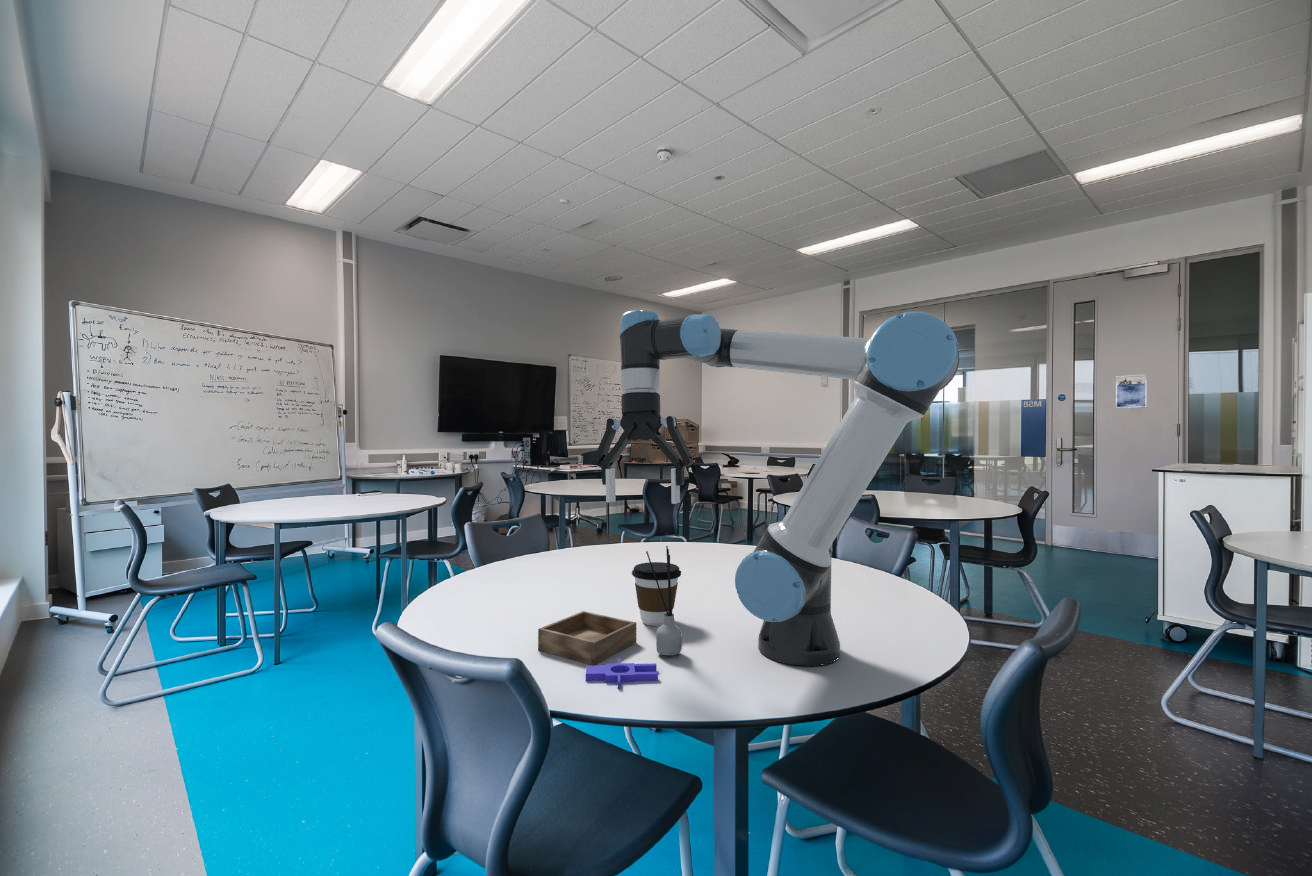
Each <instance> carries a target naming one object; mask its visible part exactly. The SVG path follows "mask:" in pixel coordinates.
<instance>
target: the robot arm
mask: <svg viewBox="0 0 1312 876" xmlns="http://www.w3.org/2000/svg"><path fill="white" fill-rule="evenodd" d="M619 332H620V333H619V340H620V360H621V361H620V363H621V365H620V390H621V391H622V392H623V393H622V395H621V397H620V398H621V405H620V406H621V418H620V419H617V418H610V417H608V418H607V420H606V427H605V431H604V433H603V436H602V437H601V441H600V443H599V445H598V447H597V450H596V452H595V455H594V457H593V459H592V461H591V462H592V465H593V466H597V467H599V468H600V469H601V482H602V483H601V484H602V485H603V486H605V502H606V503H613V502H616V498H617V497H616V468H613V465H614V464H615V462H616V461H617V459H618V458H619V457H620V455H621V454H622V453H623V451H624V450H625V449H626V447H627V446H628V445H629V444H630V443H631V442H632V441H634V442H636V441H652V442H654V443H655V444H656V445H657V447H658V448H659V449H660V451H661V452H662V453H663V454H664V456H665V457H666V458H667V459H668V460H669V462H671V464H672V465H673V466H674V468H670V485H671V486H670V489H671V492H670V493H671V495H670V496H671V498H670V500H671V504H672V505H676V504H679V503H681V486H684V484H685V468H686V467H687V466H690V465H693V464H694V462H695V459H694V458H693V456H692V454H691V452H690V450H689V448H688V446H687V444H686V442H685V440H684V438H683V436H682V434H681V432H680V430H679V427H678V421H677V417H676V416H671V415H668V416H667V417H662V416H661V395H660V393H658V391H660V390H661V381H660V379H661V378H660V374H661V373H660V361H665V360H673V359H675V360H676V359H687V360H691V361H693V362H697V363H702V364H706V365H708V366H709V367H713V368H739V369H746V370H747V369H749V370H757V371H758V370H759V371H765V372H766V371H767V372H777V373H787V374H794V375H795V374H797V375H804V376H805V375H806V376H815V377H816V376H818V377H827V378H836V379H845V380H852V384H853V387H854V391H855V397H854V399H852V402H851V404H850V405H849V407H848V408H847V410H846V412H845V414H844V415H843V417H842V419H841V421H840V422H839V424H838V426H837V428H835V431H834V433H833V434H832V436H831V437H830V439H829V440H828V443H827V444H826V447H824V449H823V452H822V453H821V455H820V456H819V458H818V460H817V461H816V463H815V464H814V466H813V468H812V470H811V472H810V474H809V475H808V476H807V478H806V480H805V482H804V484H803V485H802V487H801V488H800V490H799V492H798V493H797V495H796V497H795V498H794V501H793V502H792V504H791V505H790V507H789V509H788V510H787V511H786V514H785V515H784V517H783V519H782V520H781V521H777V522H774V523H770V524H768V526H767V527H766V530H765V531H764V533H763V535H762V537H761V538H760V540H759V541H758V543H757V545H756V547H755V549H754V550H753V551H752V552H751V553H749V554H747V555H746V556H745V557H744V558H743V559H742V560H741V562H740V563H739V565H738V566H737V569H736V571H735V576H734V586H735V590H736V594H737V597H738V599H739V600H740V603H741V604H742V605H743V607H744V609H746V610H747V611H748V612H749V613H750V614H751V615H753V616H754V617H755V618H758V619H759V620H762V624H761V628H760V630H759V634H758V637H757V638H758V640H757V641H758V646H757V648H758V649H757V650H759V652H760V654H762V655H763V656H765V657H766V658H768V659H771V660H773V661H776V662H779V663H782V664H786V665H792V666H799V665H820V666H822V665H821V664H827V663H830V662H833V661H834V660H836V659H837V658H839V656H840V657H841V641H840V638H839V635H838V632H837V629H836V625H835V623H834V620H833V616H832V611H831V609H832V608H831V607H832V606H831V605H832V553H833V547H832V544H833V543H834V541H835V539H836V538H837V536H838V535H839V533H840V531H841V530H842V528H843V527H844V525H845V523H846V522H847V520H848V519H849V517H850V516H851V514H852V512H853V511H854V509H855V507H856V506H857V504H858V503H859V501H860V500H861V498H862V496H863V495H864V493H865V491H866V490H867V488H868V486H869V485H870V483H871V482H872V480H873V478H874V477H875V475H876V474H877V472H878V470H879V468H880V467H881V465H882V464H883V462H884V460H885V459H886V457H887V456H888V454H889V453H890V451H891V450H892V448H893V446H894V445H895V443H896V441H897V439H898V438H899V437H900V435H901V433H902V432H903V430H904V429H905V427H906V425H907V424H908V423H909V422H911V421H915V420H919V419H921V418H924V416H925V415H926V413H927V411H928V410H929V408H930V406H931V405H932V403H933V402H934V400H935V398H937V396H938V395H939V393H940V391H942V390H943V389H944V388H946V387H947V386H948V385H949V384H950V383H951V381H953V379H954V378H955V376H956V375H957V372H958V369H959V365H960V352H959V342H958V339H957V336H956V333H955V332H954V331H953V329H952V328H951V326H949V325H948V324H947V322H945V320H942V319H941V318H940V317H938V316H936V315H934V314H931V313H929V312H925V311H917V310H916V311H905V312H901V313H898V314H896V315H894V316H892V317H889V318H888V319H886V320H885V321H884V322H882V323H881V324H880V325H878V327H876V329H875V331H874V332H873V333H872V335H871V337H869V338H868V337H851V336H841V335H840V336H837V335H823V334H821V335H820V334H810V333H809V334H807V333H791V332H778V331H777V332H776V331H763V330H762V331H760V330H747V329H745V330H744V329H734V328H733V329H731V328H720V324H719V322H718V321H717V319H716V317H715V316H713V315H712V314H709V313H703V314H698V313H695V314H690V315H685V316H679V317H673V318H672V317H671V318H665V319H660V317H659V315H658V313H657V312H656V311H653V310H647V309H641V310H638V309H635V310H629V311H626V312H625V313H623V314H622V315H621V317H620V331H619ZM662 426H664V428H665V429H667V431H668V434H669V435H670V437H671V440H672V441H673V443H674V444H673V445H674V446H675V447H676V449H677V452H678V453H679V455H678V454H677V452H676V451H675V450H674V448H672V446H671V445H670V444H669V443H668V441H667V440H666V439H665V437H664V436H663V434H662V433H661V431H660V429H661V428H662ZM620 427H621V428H622V430H623V432H622V433H621V434H620V436H619V438H618V440H617V441H616V442H615V444H614V446H613V447H612V448H611V446H612V444H613V441H614V438H615V436H616V434H617V431H618V430H619V429H620ZM610 448H611V450H610ZM839 659H840V658H839ZM833 663H834V662H833ZM830 664H831V663H830ZM827 665H828V664H827Z"/></svg>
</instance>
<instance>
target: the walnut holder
mask: <svg viewBox="0 0 1312 876" xmlns="http://www.w3.org/2000/svg"><path fill="white" fill-rule="evenodd" d="M537 635H538V636H537V642H538V643H537V646H538V647H537V650H538V651H541V652H545V653H547V654H548V653H549V654H551V655H555V656H559V657H562V658H567V659H569V660H572V661H576V662H580V663H583V664H587V665H589V666H597V665H598V664H599V663H602V662H604V661H605V660H608V659H609V658H610V657H613V656H615V655H616V654H618V653H620V652H622V651H623V650H626V649H627V648H629V647H631V646H633V645H635V644H637V622H636V621H632V620H627V619H621V618H618V617H613V616H612V617H611V616H609V615H603V614H598V613H594V612H588V611H586V610H585V611H580V612H578V613H575V614H573V615H570V616H567V617H565V618H562V619H559V620H558V621H555V622H552V623H550V624H547V625H546V626H541V627H540V628H538V629H537Z"/></svg>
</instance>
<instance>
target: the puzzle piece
mask: <svg viewBox="0 0 1312 876" xmlns="http://www.w3.org/2000/svg"><path fill="white" fill-rule="evenodd" d="M599 681H601V682H604V683H606V684H608V683H609V684H610V683H617V690H620V689H621V683H636V682H639V683H640V682H658V681H659V673H658V671H657V663H634V662H630V663H629V662H627V663H625V662H623V663H621V658H620V657H617V663H613V662H612V663H605V665H586V669H585V682H599Z"/></svg>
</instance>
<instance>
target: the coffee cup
mask: <svg viewBox="0 0 1312 876" xmlns="http://www.w3.org/2000/svg"><path fill="white" fill-rule="evenodd" d="M651 563H652V566H653V569H654V572H655V575H656V578H657V581H658V584H659V587H660V590H661V593H662V596H663V599H664V602H665V605H666V608H667V611H668V572H667V562H661V561H659V562H658V561H656V562H653V561H651ZM631 575H632V577H634V580H635V582H634V586H635V594H636V600H637V607H638V609H639V614H640V619H641V622H642V623H643V624H644V625H647V626H652V627H660V626H661V625H663V624H664V614H666V613H667V612H666V609H665V606H664V603H663V600H662V598H661V595H660V592H659V589H658V586H657V583H656V580H655V577H654V574H653V571H652V568H651V565H650V562H649V561H648V562H643V563H637V564H635V566H634V567H633V569H632V571H631ZM681 575H682V571H681V570H680V566H678V565H677V564H674V563H672V562H670V581H671V600H672V612H673V610H674V608H675V602H676V596H677V592H678V591H677V589H678V584H679V582H678V580H679V579H678V578H680V577H682V576H681Z"/></svg>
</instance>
